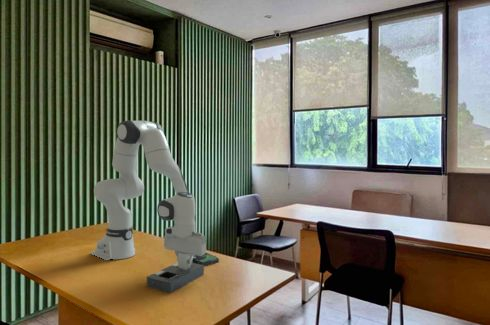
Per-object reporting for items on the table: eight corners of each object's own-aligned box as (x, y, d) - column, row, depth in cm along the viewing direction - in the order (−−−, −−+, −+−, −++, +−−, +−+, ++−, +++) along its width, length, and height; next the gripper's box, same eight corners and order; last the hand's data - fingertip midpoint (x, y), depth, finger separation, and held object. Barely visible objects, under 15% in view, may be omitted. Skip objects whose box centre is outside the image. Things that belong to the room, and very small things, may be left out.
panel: (146, 286, 136) (146, 276, 136) (181, 269, 155) (181, 260, 155) (170, 293, 130) (170, 282, 130) (203, 274, 150) (203, 264, 150)
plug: (177, 275, 147) (178, 252, 147) (184, 272, 151) (184, 249, 151) (185, 277, 145) (185, 254, 145) (192, 273, 149) (192, 251, 149)
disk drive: (183, 260, 169) (202, 268, 159) (183, 254, 169) (202, 262, 158) (200, 255, 176) (219, 262, 166) (200, 250, 176) (219, 257, 166)
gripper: (209, 232, 145) (208, 264, 146) (171, 225, 154) (171, 256, 155) (200, 235, 139) (200, 269, 140) (161, 228, 149) (161, 260, 150)
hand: (184, 262), depth 148 cm, fingers closed on plug, 4 cm apart
